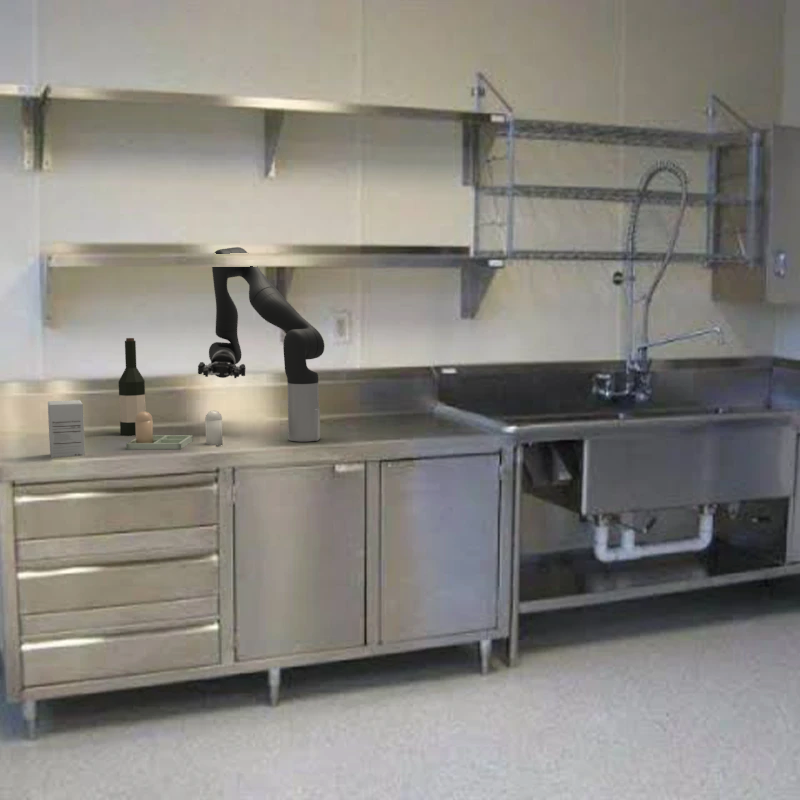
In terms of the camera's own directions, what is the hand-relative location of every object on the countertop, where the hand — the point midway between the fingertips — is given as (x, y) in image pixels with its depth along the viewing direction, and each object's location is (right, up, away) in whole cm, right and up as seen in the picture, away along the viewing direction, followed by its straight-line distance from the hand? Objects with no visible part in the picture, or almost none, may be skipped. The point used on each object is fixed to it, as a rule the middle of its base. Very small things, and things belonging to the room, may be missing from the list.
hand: (221, 374), depth 312 cm
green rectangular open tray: (-16, -21, -11) cm, 29 cm away
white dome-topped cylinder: (-1, -21, -9) cm, 23 cm away
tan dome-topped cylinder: (-19, -21, -15) cm, 32 cm away
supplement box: (-38, -23, -25) cm, 51 cm away
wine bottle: (-30, -19, +14) cm, 38 cm away
